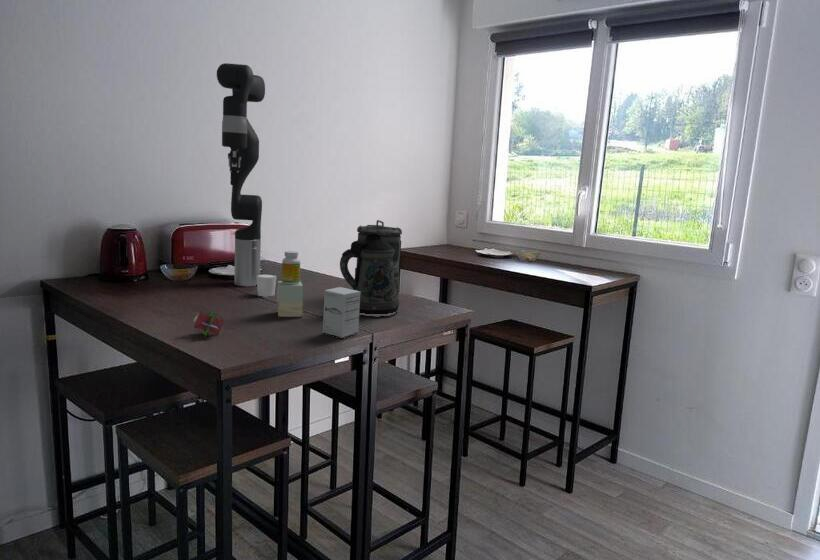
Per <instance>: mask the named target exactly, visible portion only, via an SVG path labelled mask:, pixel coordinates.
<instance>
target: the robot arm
mask: <svg viewBox="0 0 820 560" xmlns="http://www.w3.org/2000/svg"><path fill="white" fill-rule="evenodd" d="M216 79H217V83H218V84H219V85H220V86H221V87H222V88H225V89H229V90H230V89H231V91H232V93H231V95H227V96H224V97H223V101H222V121H221V146H222V147H225V148H230V150H229V153H227V160H228V168H229V173H230V185H231V201H230V213H231V217H232V219H233V220H237V221H252V222H251V223H250V224H248V226H246V227H243V228H239V229H236V230H235V232H234V280H233V281H234V285H235V286H239V287H257V286H256V285H257V277H256V276H257V275H261V252H262V251H261V249H262V248H261V246H262V245H261V238H262V236H261V235H262V232H261V231H262V230H261V227H262V212H263V200H262V197H261V196H260V195H257V194H255V195H254V194H242V193H241V192H242V188H243V185H244V184H245V182H246V179H247V178H248V176H249V175H250V173H251V172H252V171H253V169H254V168H255V166H256V165H257V164H258V161H259V157H260V139H259V137H258V135H257V133H256V131H255V129H254V127H252V124H251V123H250V121H249V120H248V107H247V106H248V102H250V103H251V102H252V103H261V102H262V101H263V100H264V99H265V95H266V83H265V80H264V78H263V77H261V76H260V75H255V74H254V72H253V69H252V68H251V67H250V65H247V64H240V63H229V62H228V63H226V62H225V63H222V64H220V65H219V66H218V68H217V70H216Z"/></svg>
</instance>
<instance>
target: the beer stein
mask: <svg viewBox="0 0 820 560" xmlns="http://www.w3.org/2000/svg"><path fill="white" fill-rule="evenodd" d="M394 252H395V250H394V249H393V247H392V246H391V245H389V244H388V243H387V242H386V241H385V240H384V239H383V237H382V235H367V236H366V238H365V239H363V240H358V239H357V240H355V241H354V240H353V242H351V244H350V248H349V249H346V250H345V251H343V253H342V254H341V257H340V260H339V270H340V273H341V275H342V277H343V279H344V280H345V282H347V284H348V285H349V286H350V287H351V288H352V290H356V291H360V292H361V293H360V308H359V313H365V314H388V313H393V312H396V311H397V310H398V311H399V307H400V300H399V296H398V297H397V293H396V288H395V282H394V271H393V261H392V258H393V256H394ZM352 258H353V259H354V258H356V259H357V258H358V263H357V262H356V266H357V268H356V267H355V268H356V274H355V273H354V277H353V275H352V274H351V273H350V270H349V262H350V259H352ZM398 311H397V312H398Z"/></svg>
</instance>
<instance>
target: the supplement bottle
mask: <svg viewBox="0 0 820 560" xmlns="http://www.w3.org/2000/svg"><path fill="white" fill-rule="evenodd" d="M298 257H299V251H296V250H285V251H284V258H283V259H282V262H281V265H282V266H281V281H282V283H283V284H288V285H296V284H299V283H300V281H301V260H300V259H299V258H298Z"/></svg>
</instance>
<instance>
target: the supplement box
mask: <svg viewBox="0 0 820 560" xmlns="http://www.w3.org/2000/svg"><path fill="white" fill-rule="evenodd" d="M360 293H361V292H360V291H356V290H353V289H350V288H347V287H346V288H345V287H343V286H338V287H334V288H329V289H324V296H323V298H324V299H323V314H322V315H323V318H322V333H323V332H324V333H329V334H333V335H337V336H341V337H344V336H347V335H350V334H353V333H356V332H358V333H359V323H360V315H359V308H360Z"/></svg>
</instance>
